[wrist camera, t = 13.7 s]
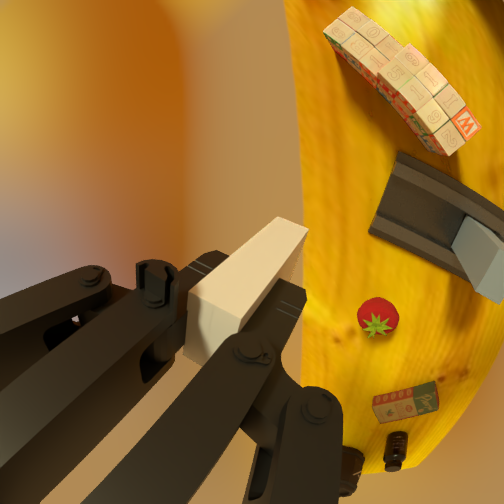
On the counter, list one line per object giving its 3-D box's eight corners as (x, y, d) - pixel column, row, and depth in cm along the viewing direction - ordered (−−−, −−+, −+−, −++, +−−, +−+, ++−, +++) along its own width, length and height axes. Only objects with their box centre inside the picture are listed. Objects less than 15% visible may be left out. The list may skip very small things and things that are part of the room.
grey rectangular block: (466, 214, 32) (499, 248, 20) (487, 227, 31) (523, 264, 19) (451, 246, 35) (475, 290, 23) (472, 258, 34) (499, 304, 22)
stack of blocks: (332, 50, 32) (316, 21, 22) (357, 29, 28) (350, -6, 18) (428, 152, 32) (449, 157, 22) (454, 130, 29) (483, 128, 19)
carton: (373, 394, 55) (371, 408, 51) (435, 378, 46) (436, 392, 42) (381, 412, 56) (379, 424, 52) (439, 398, 47) (439, 411, 43)
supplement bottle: (405, 441, 56) (400, 473, 46) (384, 440, 59) (378, 473, 49) (411, 430, 54) (407, 465, 44) (389, 430, 57) (383, 464, 47)
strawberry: (392, 317, 45) (391, 353, 37) (355, 307, 48) (348, 342, 39) (403, 291, 42) (405, 326, 34) (364, 281, 45) (360, 313, 37)
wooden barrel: (345, 467, 73) (333, 500, 60) (308, 452, 76) (294, 487, 63) (377, 455, 63) (368, 494, 50) (339, 439, 66) (325, 480, 53)
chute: (398, 150, 34) (401, 152, 31) (508, 214, 28) (520, 223, 25) (368, 230, 41) (367, 240, 38) (473, 283, 35) (480, 296, 32)
